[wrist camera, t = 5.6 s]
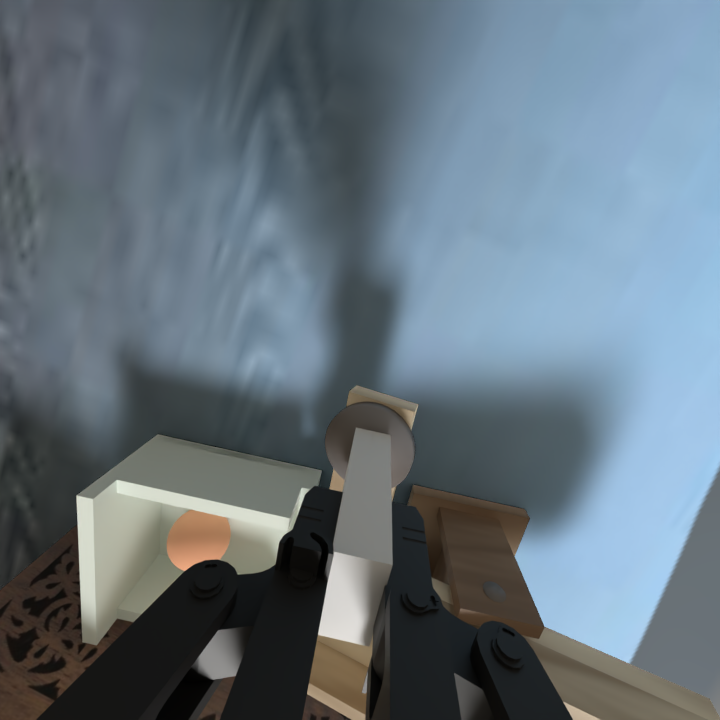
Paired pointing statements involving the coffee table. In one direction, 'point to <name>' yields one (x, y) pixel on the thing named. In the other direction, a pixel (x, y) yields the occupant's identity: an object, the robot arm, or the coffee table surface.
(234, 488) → the bin
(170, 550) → the ball
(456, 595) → the fulcrum
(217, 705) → the tissue box cover
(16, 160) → the coffee table surface
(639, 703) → the lever
